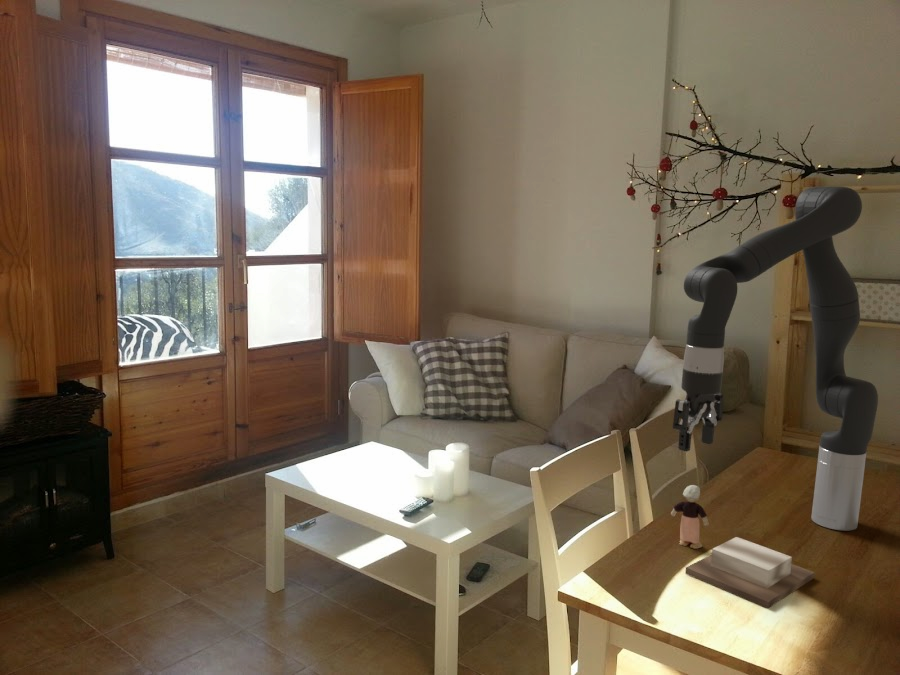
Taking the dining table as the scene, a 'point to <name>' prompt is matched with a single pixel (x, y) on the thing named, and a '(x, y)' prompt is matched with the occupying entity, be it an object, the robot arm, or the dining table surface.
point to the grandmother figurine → (690, 517)
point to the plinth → (748, 586)
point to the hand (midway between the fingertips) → (695, 446)
